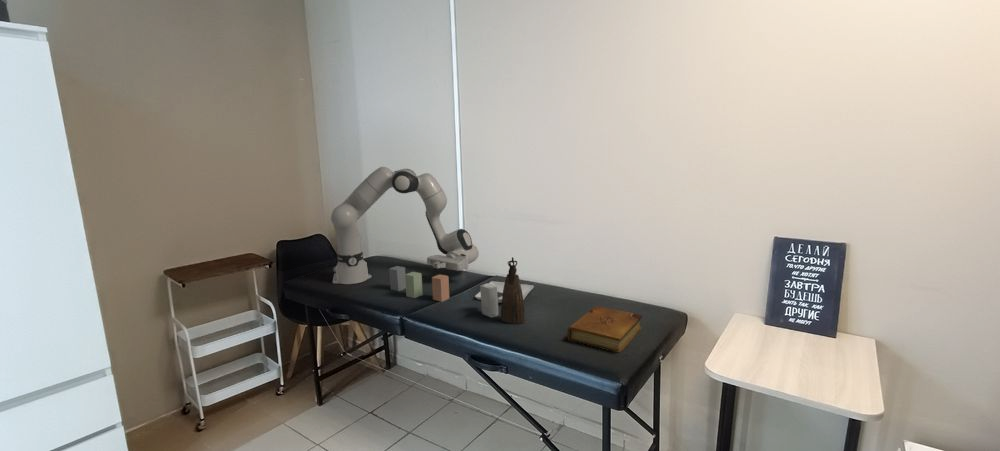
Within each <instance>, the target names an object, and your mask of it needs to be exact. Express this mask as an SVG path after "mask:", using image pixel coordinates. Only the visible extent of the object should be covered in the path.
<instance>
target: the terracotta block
mask: <svg viewBox="0 0 1000 451" xmlns="http://www.w3.org/2000/svg"><path fill="white" fill-rule="evenodd" d="M449 279H450V278H449V275H445V274H436V275H434V276H431V288H432V300H433V301H437V302H441V303H442V302H444V301H447V300H449V299H450V282H449Z"/></svg>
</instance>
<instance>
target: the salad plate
mask: <svg viewBox="0 0 1000 451" xmlns="http://www.w3.org/2000/svg"><path fill="white" fill-rule="evenodd" d="M489 284H491V285H494V286H497V293H500V294H501V293H502V294H503V289H504V284H505V281H494V280H491V281H490V282H489ZM520 284H521V288H522V294H523V301H524V300H525V299H526V297H527V296H528V294H529V293H530V292H531V291H532V290H533V289H534V288H535V286H534V285H532V284H531V285H530V284H525V283H523V284H522V283H520ZM474 297H475V298H476V299H477V300H478V301H481V291H479V292H478V293H476V294H475V295H474ZM498 304H502V295H500V296H498Z"/></svg>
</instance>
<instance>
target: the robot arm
mask: <svg viewBox="0 0 1000 451" xmlns="http://www.w3.org/2000/svg"><path fill="white" fill-rule="evenodd" d="M392 188H393V189H394V190H395V191H396V192H397V193H399V194H409V193H413V192H417V193H418V196H420V198H421V200H422V201H423V204H424V206H425V217H426V219H427V222H428V225H429V228H430V230H431V231H432V234H433V236H434V239H435V241H436V247H437V248H438V250H439V252H440V253H442V254H435V255H434V254H433V255H430V256H428V257H427V258H426V264H427V265H429V266H432V268H435V269H447V270H453V271H456V272H457V271H459V272H460V271H463V270H464V271H465V270H467V269H469V264H472V263H473V262H475V261H476V260H477V259H478V257H479V248H477V246H476V245H475V244H473V241H472V238H471V237H472V236H471V235H470V233H469V232H468V231H467V230H466V229H463V228H460V229H456V230H453V231H451V232H449V233H446V232H445V229H444V226H443V224H442V223H441V220H440V217H441V216H440V215H441V213H442V212H443V211H444V209H445V208H446V205H447V202H448V197H447V195H446V193H445V191H444V190H443V188H442V186H441V184H440V183H439V182H438V181H437V179H436V177H434V176H433V175H432V174H431V173H428V172H427V173H426V172H425V173H422V174H420V175H417V174H416V173H415V171H414V170H412V169H410V168H402V169H401V168H400V169H398V170H395V171H392V170H391V169H390V168H388V167H386V166H380V167H378V168H377V169H375V170H374V171H372V173H370V174H369V175H368V176H366V178H365V179H364V180H363V181H362V182H361V183H359V185H357V187H356V188H355V189H354V190H353V191H352V192H351V193H350V195H349V196H347V198H345V200H344V201H343V202H342V203H341V204H339V205H337V206H336V207H335V208H334V209H333V210H332V212H331V215H330V220H331V223H332V225H333V228H334V232H335V233H334V234H335V236H336V243H337V245H336V246H337V255H336V256H337V263H336V266H334V267H333V272H334V274H333V277H332V284H340V285H341V284H342V285H354V284H359V283H362V282H365V281H367V280H369V279H371V278H372V275H371V274H370V273H368V272H369V271H368V265H367V264H368V262H367V261H366V260H364V252H363V251H362V239H361V238H362V237H361V234H360V232H359V228H358V221H359V219H360V218H362V216H363V215H364V214H366V213H367V211H368V210H370V208H371V207H372V206H373V205H374V204H375V203H376V202H377V201H378V200H379V199H380V198H381V197H383V195H384V194H385V193H386V192H387V191H388V190H390V189H392Z"/></svg>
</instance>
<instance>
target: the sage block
mask: <svg viewBox="0 0 1000 451" xmlns="http://www.w3.org/2000/svg"><path fill="white" fill-rule="evenodd" d="M422 275H423V274H422V273H421V272H417V271H410V272H408V273H405V282H406V289H405V294H406V295H405V297H407V298H412V299H417V298H418V297H422V296H423V278H422V277H423V276H422Z"/></svg>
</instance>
